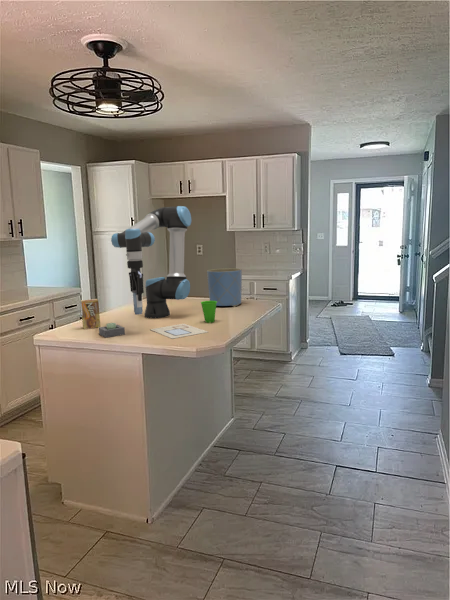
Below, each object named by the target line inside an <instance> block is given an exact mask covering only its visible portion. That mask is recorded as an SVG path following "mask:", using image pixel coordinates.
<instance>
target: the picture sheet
mask: <svg viewBox="0 0 450 600" xmlns="http://www.w3.org/2000/svg"><path fill="white" fill-rule="evenodd" d="M149 330H150V331H152V332H154V333H157V334H159V335H161V336H164V337H166V338H168V339H172V340H174V339H180V338H185V336H186V337H190V336H195V335H202V334H206V333H209V331H207V330H206V329H205V330H204V329H202V328H201V329H200V327H199V328H198V327H196V326H192V325H189V324H186V323H180V324H174V325H167V326H163V327H156V328H151V329H149ZM179 337H180V338H179Z"/></svg>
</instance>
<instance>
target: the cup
mask: <svg viewBox="0 0 450 600" xmlns="http://www.w3.org/2000/svg"><path fill="white" fill-rule="evenodd" d="M200 303H201V308H202V314H203V318H204V322H205V323H206V324H207V323H210V324H211V323H214V322H215V318H216V308H217V306H216V303H217V301H210V300H203V301H201V302H200Z"/></svg>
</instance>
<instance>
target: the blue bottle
mask: <svg viewBox="0 0 450 600" xmlns="http://www.w3.org/2000/svg"><path fill="white" fill-rule="evenodd" d="M136 293H137V291H136V290H133V293H132V302H134V304H133V312H134V315H138V316H139V315H142V314H143V311H144V309H143V307H138V308H137V300H136Z"/></svg>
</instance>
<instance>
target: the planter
mask: <svg viewBox="0 0 450 600" xmlns="http://www.w3.org/2000/svg"><path fill="white" fill-rule="evenodd" d="M242 273H243V272H242V268H233V267H230V268H229V267H227V268H223V267H222V268H213V269H207V270H206V274H207V275H206V276H207V286H208V294H209V295H208V296H209V301H217V303H216V307H218V306H219V307H228V306H232V307H233V308H235V307H237V306H239V305H240V304H242V288H243V287H242V285H243V281H242V280H243V279H242V277H243V276H242V275H243V274H242ZM234 306H235V307H234Z"/></svg>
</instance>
